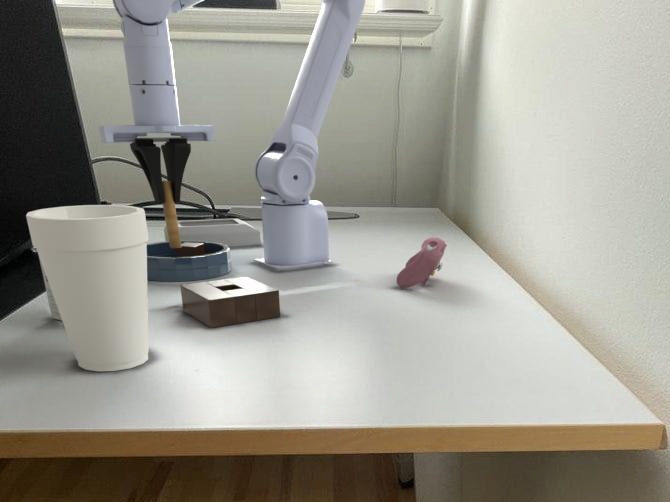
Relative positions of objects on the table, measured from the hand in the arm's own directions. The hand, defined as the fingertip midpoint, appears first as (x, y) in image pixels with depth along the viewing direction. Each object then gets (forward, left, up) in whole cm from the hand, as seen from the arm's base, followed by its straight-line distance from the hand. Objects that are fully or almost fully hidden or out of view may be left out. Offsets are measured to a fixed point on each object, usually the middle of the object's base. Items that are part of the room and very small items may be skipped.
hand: (167, 202), depth 90 cm
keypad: (-14, -19, -10) cm, 26 cm away
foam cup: (+18, +33, -10) cm, 39 cm away
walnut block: (-3, -2, -9) cm, 10 cm away
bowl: (-1, +1, -10) cm, 10 cm away
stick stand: (+2, +24, -10) cm, 26 cm away
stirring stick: (0, +1, -6) cm, 6 cm away
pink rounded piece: (-27, +23, -10) cm, 36 cm away
